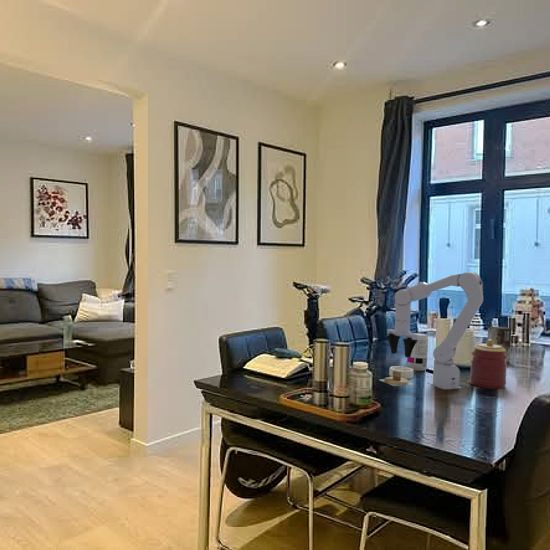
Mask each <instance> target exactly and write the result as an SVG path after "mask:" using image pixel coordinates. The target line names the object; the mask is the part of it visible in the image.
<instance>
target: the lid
mask: <svg viewBox="0 0 550 550" xmlns="http://www.w3.org/2000/svg"><path fill="white" fill-rule="evenodd" d="M383 379H384V381H385V382H386V383H385V382H384V383H385V384H388V383H389V384H388V385H390V384H394V385H401V386H408V385H407V384H409V382H410V380H409V379H404V378H401V371H393V377H391V376H388V377H384V378H383Z"/></svg>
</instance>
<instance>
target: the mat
mask: <svg viewBox="0 0 550 550" xmlns="http://www.w3.org/2000/svg"><path fill="white" fill-rule="evenodd" d="M384 379H385V378H383V379H381V378H380V379H379V381H380V382H382V383H385V384H388V385H390V386H393V387H398V386H399V387H401V386H402V385H394V384H389V383H386V382H385V381H384ZM413 385H416V384H415V383H413V382H410V381H409V384H407V385H406V386H413Z"/></svg>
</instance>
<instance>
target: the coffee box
mask: <svg viewBox="0 0 550 550" xmlns="http://www.w3.org/2000/svg"><path fill="white" fill-rule="evenodd" d="M511 334H512V328H510V327H507V326H491V325H490V326H487V340H489V339H491V340H493V342H494V345H499V346H502V348H504V349H505V350H506V351H505V352H504V353H505V354H506V355H507V356H508V358H507V359H506V363H510V360H511V358H510V355H511V336H512V335H511ZM487 340H486V341H487Z"/></svg>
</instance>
